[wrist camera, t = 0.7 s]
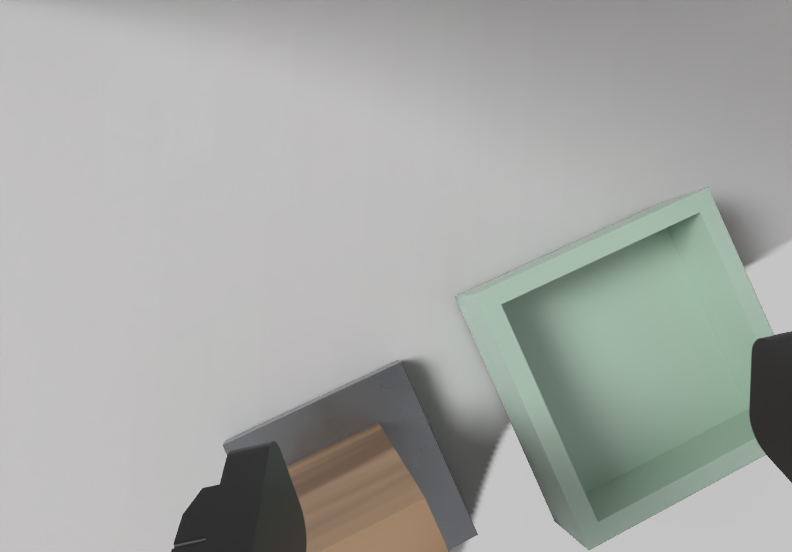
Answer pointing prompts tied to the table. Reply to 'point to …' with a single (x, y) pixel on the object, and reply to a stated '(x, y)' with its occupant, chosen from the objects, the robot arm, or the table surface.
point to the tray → (626, 364)
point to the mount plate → (359, 409)
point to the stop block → (363, 499)
